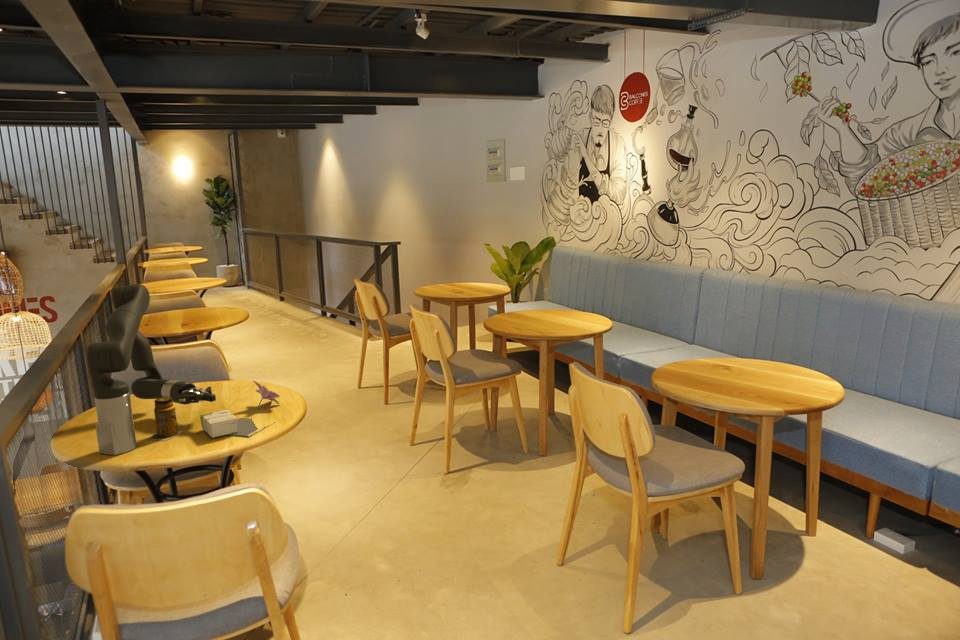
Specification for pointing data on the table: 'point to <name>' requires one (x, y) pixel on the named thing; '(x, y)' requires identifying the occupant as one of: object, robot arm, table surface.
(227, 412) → the ink box
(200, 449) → the table surface
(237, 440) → the table surface
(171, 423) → the condiment
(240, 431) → the mat
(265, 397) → the lily
